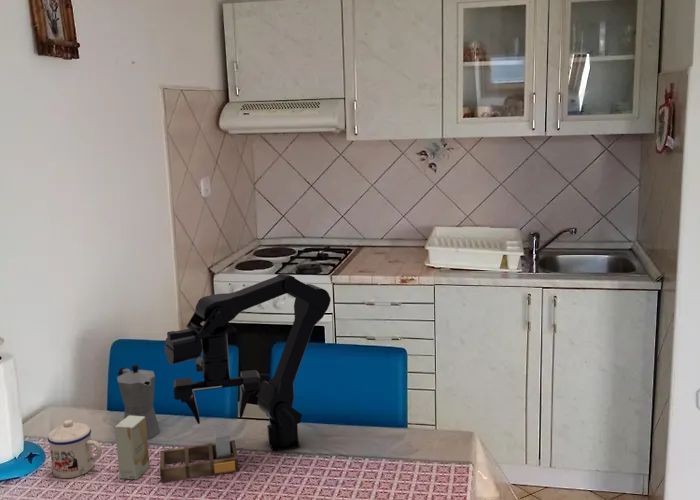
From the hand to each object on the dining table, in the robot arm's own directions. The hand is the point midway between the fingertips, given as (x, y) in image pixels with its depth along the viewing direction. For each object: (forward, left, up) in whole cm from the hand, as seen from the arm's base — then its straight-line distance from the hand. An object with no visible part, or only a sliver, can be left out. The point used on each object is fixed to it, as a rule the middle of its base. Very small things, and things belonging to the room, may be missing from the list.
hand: (219, 420), depth 155 cm
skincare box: (+19, -2, -11) cm, 22 cm away
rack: (+5, 0, -10) cm, 12 cm away
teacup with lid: (+31, -7, -11) cm, 34 cm away
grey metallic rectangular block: (0, 0, -11) cm, 11 cm away
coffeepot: (+19, -23, -11) cm, 32 cm away
